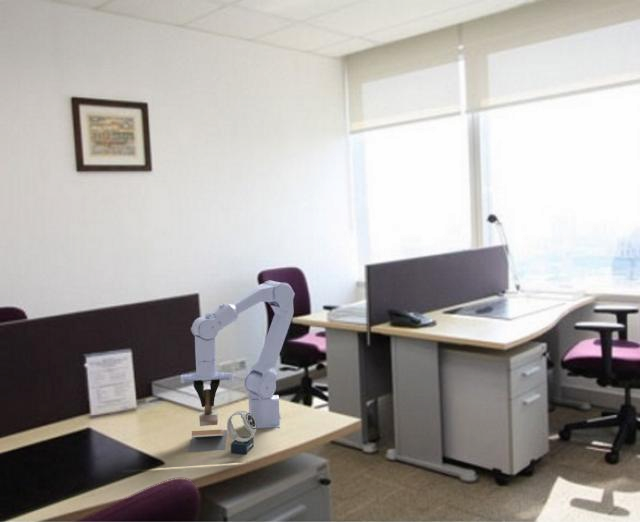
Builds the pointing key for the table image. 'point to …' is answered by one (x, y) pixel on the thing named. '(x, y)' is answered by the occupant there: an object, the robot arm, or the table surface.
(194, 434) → the tile
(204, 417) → the trowel
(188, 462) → the table surface
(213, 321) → the robot arm
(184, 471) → the table surface
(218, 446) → the mat
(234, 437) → the watch
